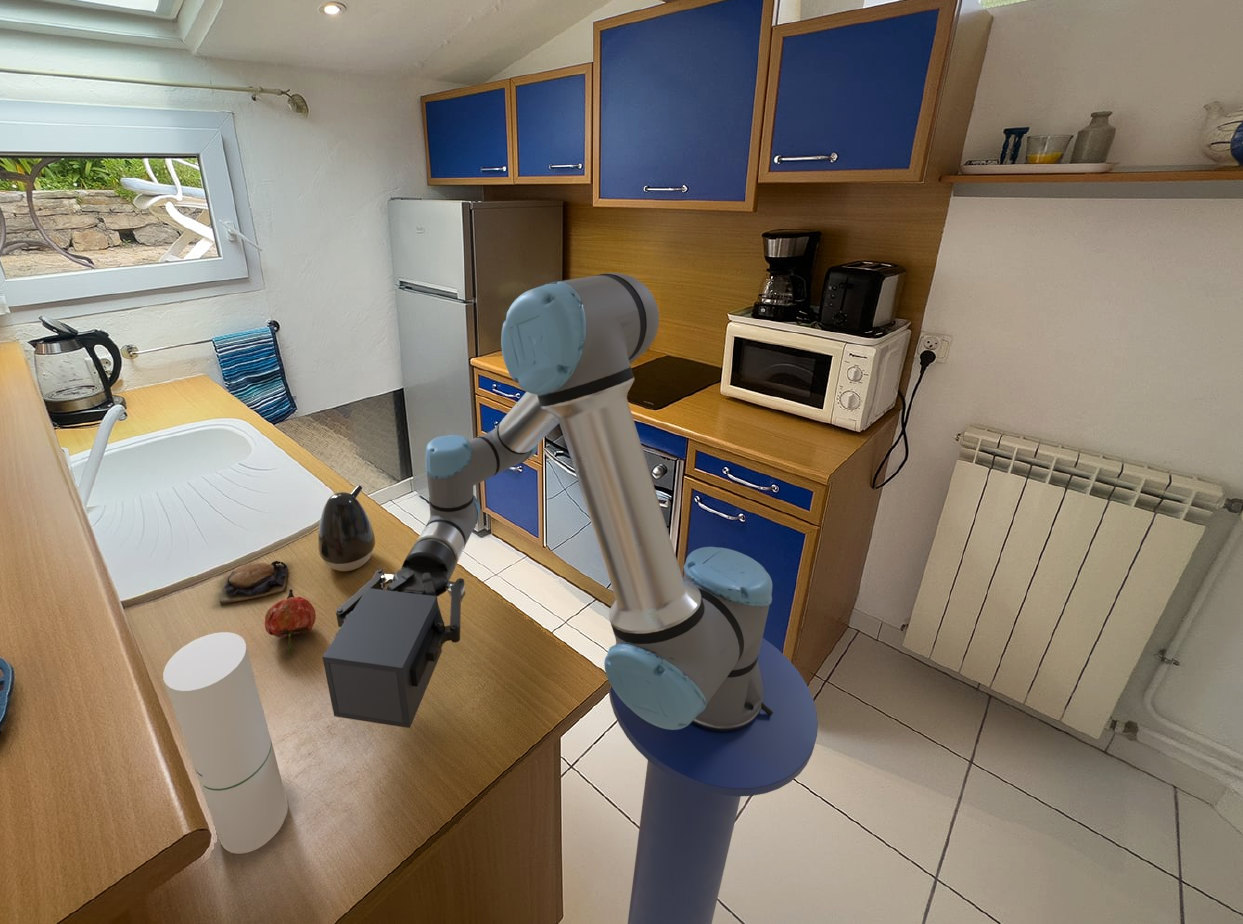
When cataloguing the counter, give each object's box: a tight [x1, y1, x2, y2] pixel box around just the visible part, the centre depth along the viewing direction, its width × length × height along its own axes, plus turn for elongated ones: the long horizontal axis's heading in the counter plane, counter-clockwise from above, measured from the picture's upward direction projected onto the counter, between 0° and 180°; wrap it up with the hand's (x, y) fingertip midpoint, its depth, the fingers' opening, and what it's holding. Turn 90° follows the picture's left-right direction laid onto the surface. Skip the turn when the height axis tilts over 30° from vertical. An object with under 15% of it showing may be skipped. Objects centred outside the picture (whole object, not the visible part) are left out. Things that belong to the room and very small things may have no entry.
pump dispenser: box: [317, 484, 376, 572], centre depth 104 cm, size 10×10×15 cm
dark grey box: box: [322, 588, 443, 729], centre depth 72 cm, size 10×12×10 cm
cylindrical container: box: [162, 631, 289, 855], centre depth 60 cm, size 7×7×25 cm
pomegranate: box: [264, 588, 317, 656], centre depth 88 cm, size 7×7×10 cm
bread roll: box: [218, 560, 288, 604], centre depth 100 cm, size 11×8×4 cm
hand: (371, 672), depth 68 cm, fingers closed on dark grey box, 10 cm apart
